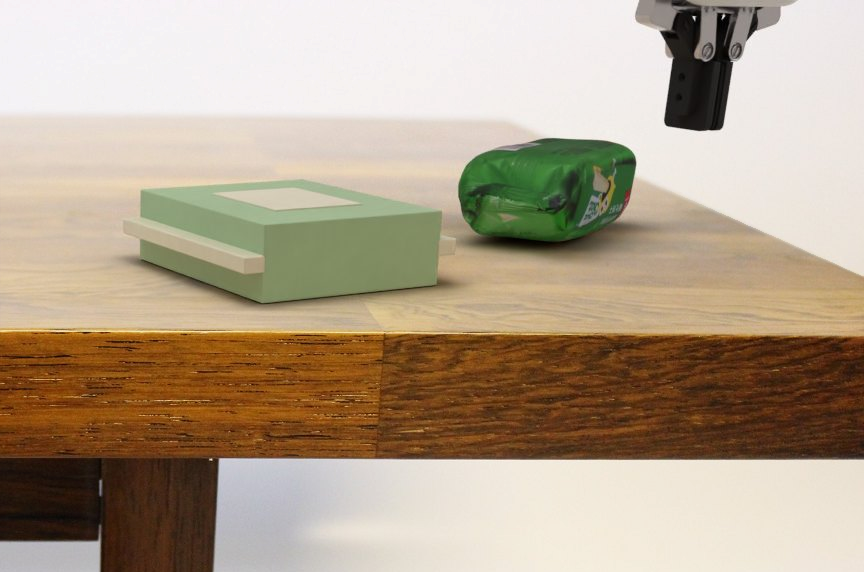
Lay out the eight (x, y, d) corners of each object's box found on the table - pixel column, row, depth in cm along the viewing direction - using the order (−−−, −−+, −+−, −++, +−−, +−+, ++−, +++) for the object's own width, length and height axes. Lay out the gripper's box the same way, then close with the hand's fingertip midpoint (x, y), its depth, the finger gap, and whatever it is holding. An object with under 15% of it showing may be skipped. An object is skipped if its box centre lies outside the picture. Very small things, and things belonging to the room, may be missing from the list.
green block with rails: (314, 243, 82) (318, 176, 81) (453, 283, 72) (459, 207, 71) (122, 260, 77) (122, 189, 76) (242, 305, 67) (245, 224, 66)
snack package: (431, 247, 82) (439, 151, 80) (532, 211, 94) (540, 127, 92) (557, 263, 78) (568, 163, 76) (644, 223, 90) (656, 136, 89)
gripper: (698, -220, 77) (648, 140, 83) (888, -200, 84) (829, 132, 90) (594, -210, 83) (555, 125, 89) (779, -192, 90) (730, 118, 96)
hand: (692, 127), depth 90 cm, fingers closed
